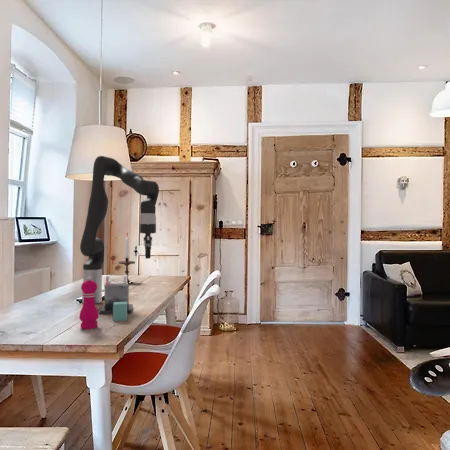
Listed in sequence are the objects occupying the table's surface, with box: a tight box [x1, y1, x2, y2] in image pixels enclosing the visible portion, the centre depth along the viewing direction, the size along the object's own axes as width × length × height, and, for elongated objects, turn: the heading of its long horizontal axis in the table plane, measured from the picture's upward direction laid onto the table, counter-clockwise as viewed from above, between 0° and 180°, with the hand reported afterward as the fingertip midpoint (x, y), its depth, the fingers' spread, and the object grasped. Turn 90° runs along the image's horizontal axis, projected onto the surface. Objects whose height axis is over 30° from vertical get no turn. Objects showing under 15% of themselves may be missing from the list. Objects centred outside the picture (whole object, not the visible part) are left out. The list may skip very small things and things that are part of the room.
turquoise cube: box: [112, 302, 128, 322], centre depth 177 cm, size 6×5×7 cm
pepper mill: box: [79, 276, 100, 330], centre depth 164 cm, size 7×7×20 cm
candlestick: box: [118, 232, 136, 283], centre depth 284 cm, size 11×11×35 cm
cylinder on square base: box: [98, 274, 134, 315], centre depth 195 cm, size 14×14×16 cm
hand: (147, 257), depth 195 cm, fingers open, 8 cm apart
